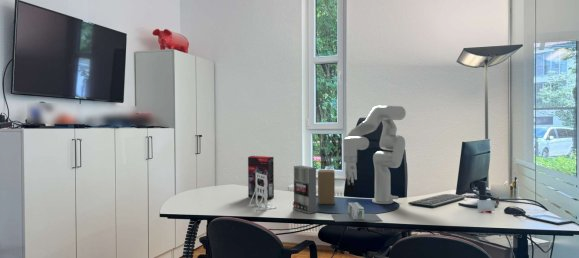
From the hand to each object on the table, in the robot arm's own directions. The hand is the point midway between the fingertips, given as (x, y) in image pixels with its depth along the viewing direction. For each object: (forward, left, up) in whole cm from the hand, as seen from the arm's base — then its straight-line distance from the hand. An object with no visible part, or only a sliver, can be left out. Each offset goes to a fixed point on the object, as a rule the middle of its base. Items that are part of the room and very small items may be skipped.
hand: (350, 191), depth 225 cm
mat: (0, +16, -11) cm, 20 cm away
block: (+11, -21, -11) cm, 26 cm away
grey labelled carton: (+26, -1, -11) cm, 28 cm away
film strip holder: (+50, -11, -11) cm, 52 cm away
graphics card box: (+52, -39, -11) cm, 66 cm away
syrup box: (0, +6, -8) cm, 10 cm away
